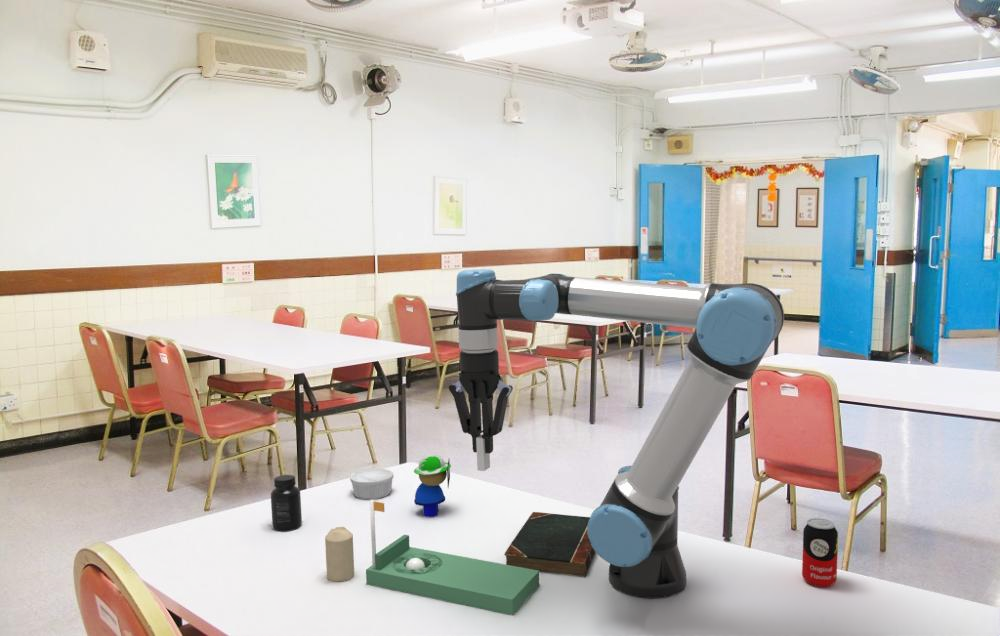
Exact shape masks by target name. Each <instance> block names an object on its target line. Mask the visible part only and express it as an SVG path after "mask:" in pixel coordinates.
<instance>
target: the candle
mask: <svg viewBox="0 0 1000 636" xmlns="http://www.w3.org/2000/svg"><path fill="white" fill-rule="evenodd" d="M353 535H354V534H353V533H352V532H351V531H350V530H349V529H347V528H346V527H345V526H336V527H335V528H331V529H330V530H329V532H328V533H327V534H326V535H325V537H324V540H325V541H324V543H325V544H324V545H325V560H326V561H325V564H326V578H327V579H328V581H331V582H337V583H339V582H345V581H349V580H351V579H352V578H353V577H354V575H355V559H354V556H355V555H354V538H353Z"/></svg>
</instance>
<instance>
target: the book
mask: <svg viewBox="0 0 1000 636" xmlns="http://www.w3.org/2000/svg"><path fill="white" fill-rule="evenodd" d="M590 517H591V516H580V515H571V514H570V515H569V514H559V513H547V512H539V511H532V513H531V514H530V515H529V516H528V518H527V519H526V521H525V522H524V524H523V525H522V527H521V528H520V530H519V531H518V532H517V534H516V535H515V537H514V539H513V540H512V542H511V543H510V544H509V546H508V547H507V548H506V550H505V552H504V554H503V556H505V557H506V559H505V560H506V561H505V562H506V563H505V565H511V566H516V567H522V568H527V569H532V570H538V571H539V572H542V573H550V574H560V575H561V574H562V575H569V576H576V577H577V576H579V577H586V576H587V574H588V571H589V569H590V566H591V564H592V562H593V559H594V558H595V554H597V553H596V552H595V550H594V549H593V547H592V546H591V543H590V540H589V538H588V533H587V526H588V522H589V519H590Z"/></svg>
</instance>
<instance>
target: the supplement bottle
mask: <svg viewBox="0 0 1000 636" xmlns="http://www.w3.org/2000/svg"><path fill="white" fill-rule="evenodd" d="M273 481H274V482H273V486H274V489H272V490H271V493H270V503H271V504H270V506H271V520H272V521H271V523H272V528H273V529H274V530H276V531H279V532H287V531H293V530H296V529H298V528H300V527H301V526H302V523H303V519H302V515H303V514H302V501H301V499H302V498H301V497H302V496H301V490H300V488H299V487H297V486H296V483H297V482H296V476H295V475H294V474H282V475H278V476H275V478H274V479H273Z"/></svg>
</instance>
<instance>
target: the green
mask: <svg viewBox="0 0 1000 636" xmlns="http://www.w3.org/2000/svg"><path fill="white" fill-rule="evenodd" d="M385 510H386V509H385V503H384V502H380V501H375V499H369V511H370V513H369V514H370V532H371V533H370V535H371V536H370V537H371V555H372V556H371V559H372V561H371V563H372V565H370V566H369V567H367V568H366V569H365V577H366V578H365V580H366V581H365V582H366V585H370V586H375V587H380V588H383V589H387V590H393V591H399V592H403V593H406V594H407V593H408V594H411V595H416V596H422V597H426V598H431V599H435V600H441V601H445V602H450V603H454V604H459V605H465V606H469V607H472V608H476V609H477V608H478V609H482V610H487V611H491V612H497V613H500V614H506V615H511V616H513V615H514V614H515V613H516V612H517V611H518V610H519V609H520V607H522V605H523V604H524V603H525V602H526V601H527V599H528V598H529V597H531V595H532V594H533V593H534V592H535V591H536V590H537V589H538V588H539V586H540V571H538V570H532V569H527V568H522V567H516V566H511V565H506V563H499V562H493V561H489V560H485V559H478V558H471V557H468V556H462V555H455V554H450V553H446V552H445V553H444V552H439V551H433V550H430V549H429V550H428V549H424V548H418V547H413V546H410V534H409V535H408V534H403V535H402V536H400V537H399V538H397V539H396V540H394V541H392V542H391V543H389V544H388V545H387V546H385V547H384V548H383V549H381V550H380V551H378V552H377V544H376V543H377V542H376V540H377V539H376V520H375V519H376V517H375V511H376V512H381V513H385ZM412 558H419V559H421V560H422V561H423V562H424V564H425V568H423V569H415V570H413V569H408V568H406V567H405V566H406V563H407V562H408V561H409V560H410V559H412Z"/></svg>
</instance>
